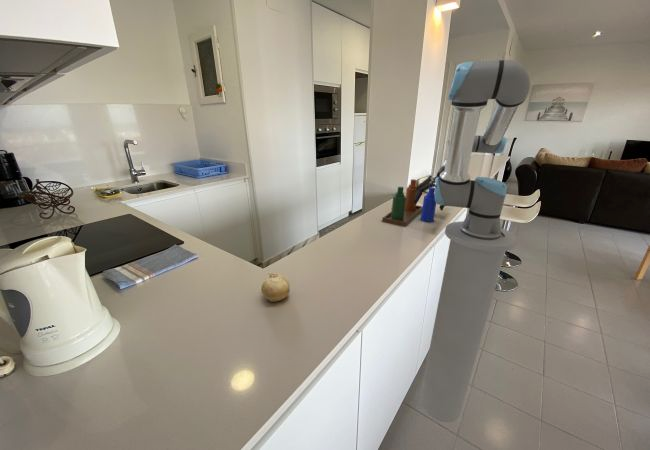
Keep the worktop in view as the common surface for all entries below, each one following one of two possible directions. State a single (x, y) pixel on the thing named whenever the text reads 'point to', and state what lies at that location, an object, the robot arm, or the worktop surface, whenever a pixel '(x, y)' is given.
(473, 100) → the robot arm
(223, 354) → the worktop surface
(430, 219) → the blue bottle
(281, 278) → the onion
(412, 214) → the tray
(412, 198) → the amber bottle
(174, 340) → the worktop surface
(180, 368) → the worktop surface
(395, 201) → the green bottle
